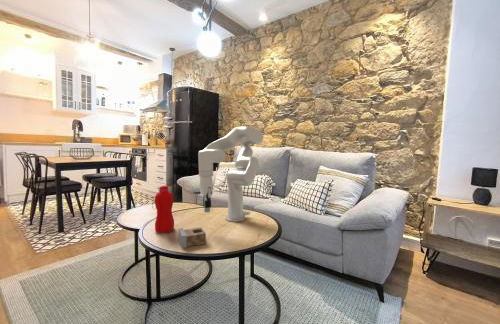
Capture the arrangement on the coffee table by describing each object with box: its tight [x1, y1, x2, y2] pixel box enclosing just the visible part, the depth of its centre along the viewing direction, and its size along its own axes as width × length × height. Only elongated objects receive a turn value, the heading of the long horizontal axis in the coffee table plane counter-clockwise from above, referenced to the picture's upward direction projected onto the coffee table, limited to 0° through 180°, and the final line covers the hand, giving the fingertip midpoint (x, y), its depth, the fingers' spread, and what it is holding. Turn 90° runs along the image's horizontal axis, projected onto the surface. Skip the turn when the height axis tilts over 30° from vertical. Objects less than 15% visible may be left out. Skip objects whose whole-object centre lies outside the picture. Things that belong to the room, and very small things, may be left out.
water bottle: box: [151, 185, 175, 234], centre depth 128 cm, size 9×11×25 cm
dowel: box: [204, 194, 211, 213], centre depth 127 cm, size 3×3×10 cm
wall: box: [177, 227, 188, 249], centre depth 112 cm, size 2×10×6 cm, turn 26°
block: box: [183, 227, 207, 248], centre depth 114 cm, size 9×9×5 cm
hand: (207, 206), depth 127 cm, fingers closed on dowel, 3 cm apart
